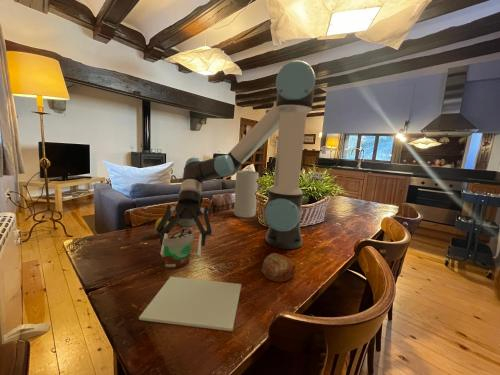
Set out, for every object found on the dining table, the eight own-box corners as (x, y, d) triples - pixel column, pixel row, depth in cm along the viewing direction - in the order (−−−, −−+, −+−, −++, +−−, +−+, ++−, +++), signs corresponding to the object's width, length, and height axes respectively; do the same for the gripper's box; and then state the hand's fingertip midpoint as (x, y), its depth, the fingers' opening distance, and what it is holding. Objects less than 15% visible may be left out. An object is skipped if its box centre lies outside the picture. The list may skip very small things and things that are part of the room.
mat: (241, 286, 63) (241, 284, 63) (232, 331, 47) (232, 328, 47) (170, 278, 64) (170, 276, 64) (139, 319, 48) (139, 317, 48)
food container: (181, 274, 66) (182, 242, 65) (162, 271, 68) (162, 239, 66) (199, 256, 78) (200, 228, 77) (182, 253, 80) (183, 226, 78)
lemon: (172, 234, 95) (172, 216, 94) (163, 239, 90) (163, 219, 89) (161, 232, 97) (161, 214, 96) (151, 236, 92) (151, 217, 91)
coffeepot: (170, 222, 110) (171, 185, 107) (185, 218, 118) (186, 184, 115) (194, 230, 102) (195, 190, 100) (208, 225, 110) (209, 188, 108)
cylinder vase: (256, 213, 137) (260, 172, 133) (253, 219, 125) (256, 173, 121) (236, 211, 139) (239, 170, 135) (231, 216, 127) (233, 171, 123)
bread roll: (264, 275, 76) (255, 254, 75) (292, 263, 77) (284, 242, 75) (269, 293, 67) (259, 270, 65) (301, 280, 67) (292, 256, 65)
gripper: (221, 201, 87) (218, 260, 74) (159, 198, 84) (145, 259, 71) (222, 190, 81) (218, 252, 68) (155, 187, 78) (138, 250, 65)
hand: (180, 255), depth 69 cm, fingers open, 10 cm apart
